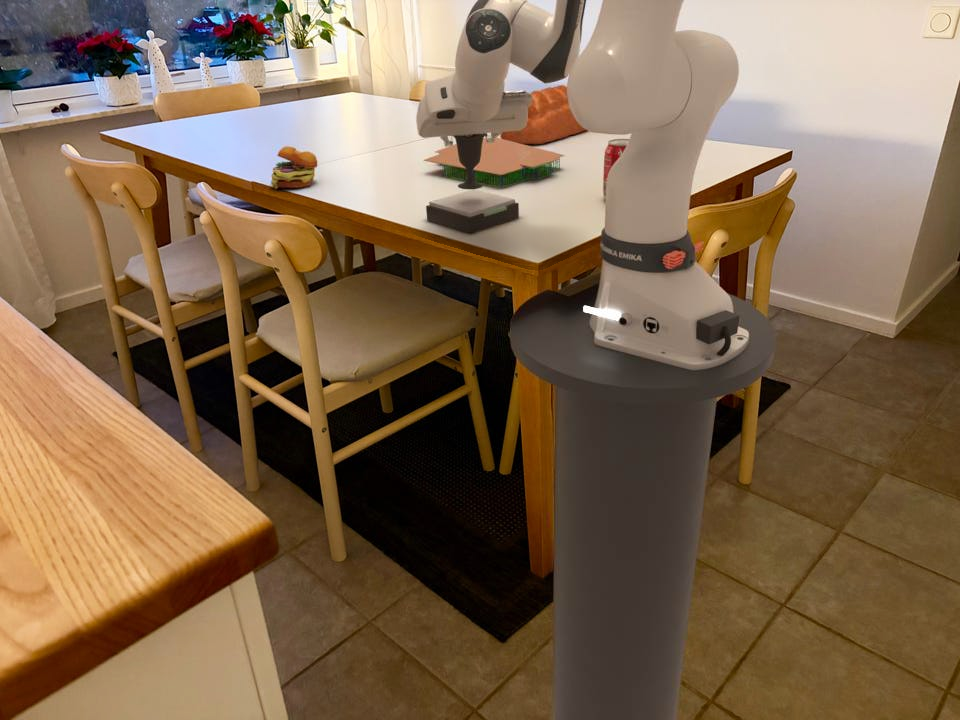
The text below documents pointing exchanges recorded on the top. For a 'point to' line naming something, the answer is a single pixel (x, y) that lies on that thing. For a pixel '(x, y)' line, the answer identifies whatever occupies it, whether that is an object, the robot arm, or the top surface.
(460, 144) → the sundae
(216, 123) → the top surface
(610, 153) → the soda can
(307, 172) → the cheeseburger
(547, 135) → the bread
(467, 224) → the scale
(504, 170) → the house
